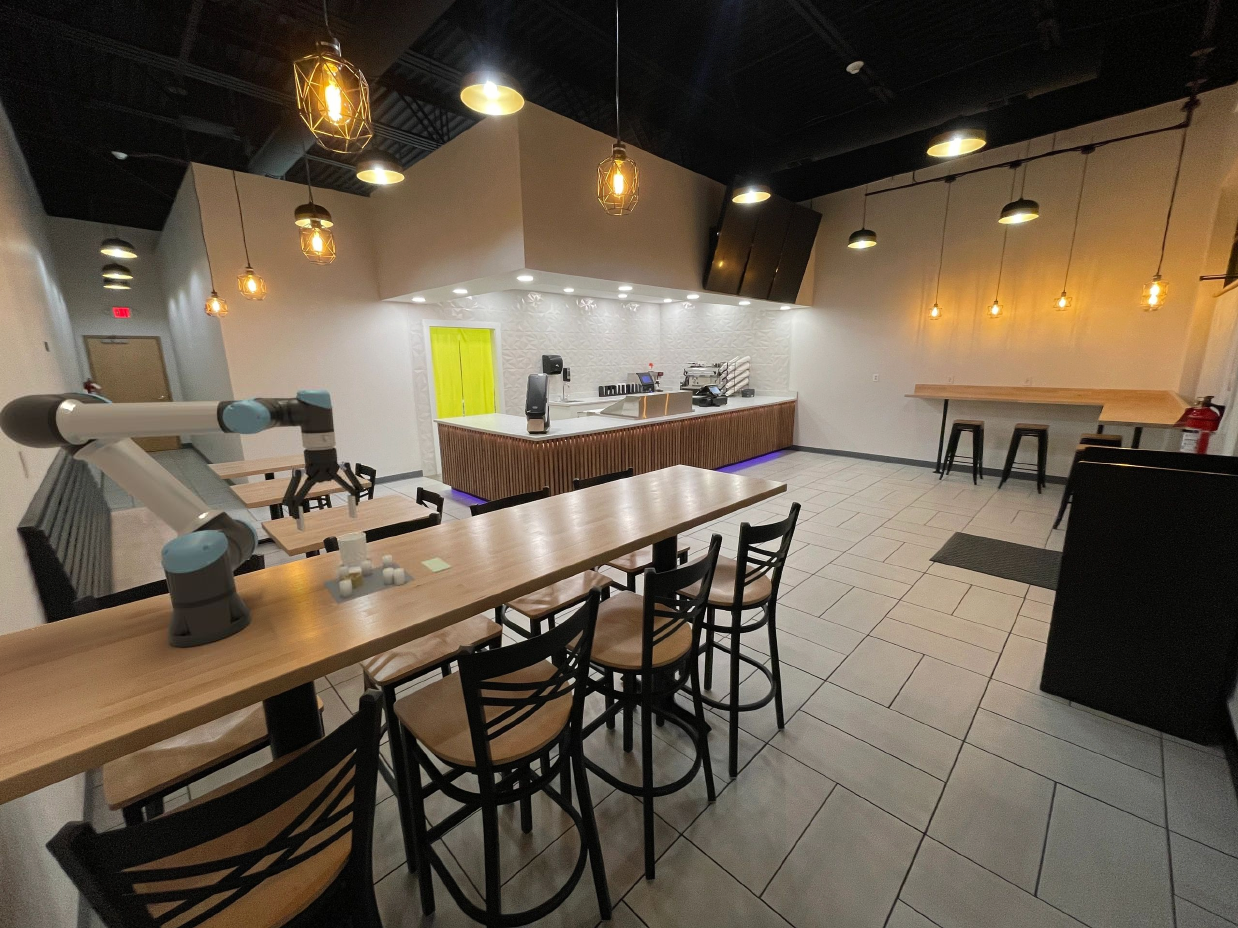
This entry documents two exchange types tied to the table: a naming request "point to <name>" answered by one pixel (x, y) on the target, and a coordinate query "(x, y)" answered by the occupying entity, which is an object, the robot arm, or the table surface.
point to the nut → (354, 579)
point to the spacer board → (368, 580)
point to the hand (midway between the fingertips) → (328, 523)
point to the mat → (436, 564)
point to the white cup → (352, 548)
